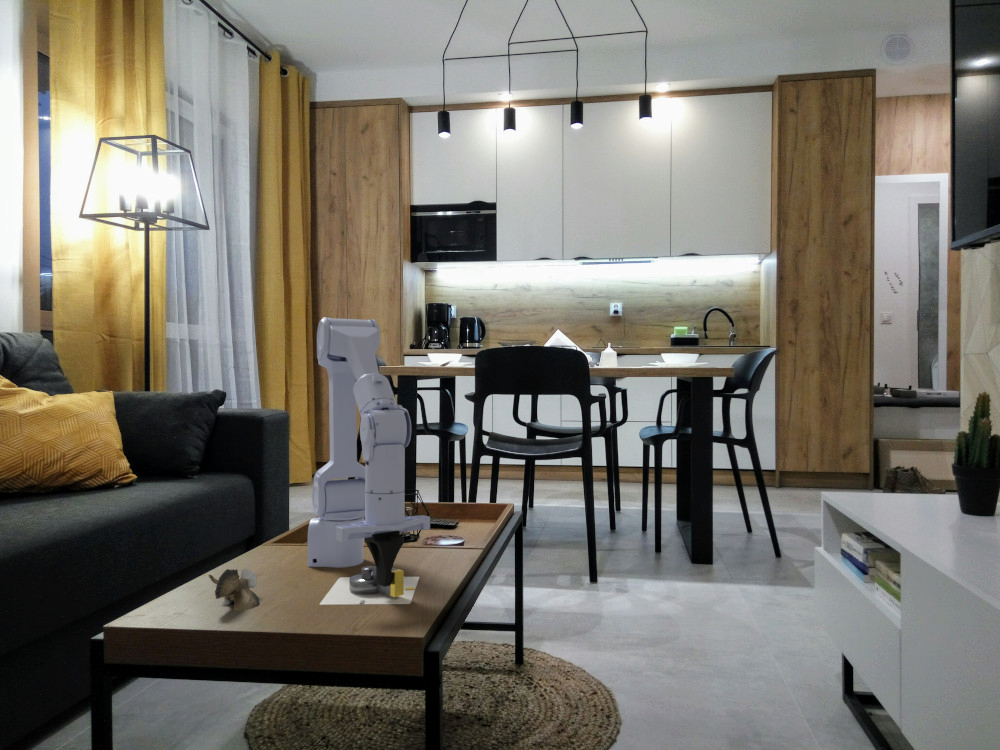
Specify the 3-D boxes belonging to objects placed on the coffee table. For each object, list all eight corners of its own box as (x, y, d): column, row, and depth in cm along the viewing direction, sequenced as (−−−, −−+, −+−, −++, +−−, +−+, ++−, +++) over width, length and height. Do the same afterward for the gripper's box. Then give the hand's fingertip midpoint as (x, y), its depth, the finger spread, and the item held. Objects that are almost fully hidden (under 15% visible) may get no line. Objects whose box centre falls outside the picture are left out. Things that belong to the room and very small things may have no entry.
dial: (341, 588, 106) (341, 563, 106) (373, 579, 110) (373, 556, 110) (382, 601, 99) (382, 575, 99) (414, 592, 103) (414, 567, 103)
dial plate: (319, 611, 99) (319, 603, 99) (339, 583, 113) (339, 576, 113) (410, 610, 99) (410, 602, 99) (419, 582, 113) (419, 575, 113)
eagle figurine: (192, 601, 100) (201, 606, 92) (220, 555, 103) (230, 556, 95) (240, 623, 103) (252, 630, 95) (265, 577, 106) (279, 581, 98)
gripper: (352, 499, 94) (351, 600, 93) (441, 489, 103) (441, 581, 102) (329, 493, 99) (329, 588, 99) (416, 485, 108) (416, 572, 108)
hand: (384, 584), depth 101 cm, fingers closed, pressing on dial
